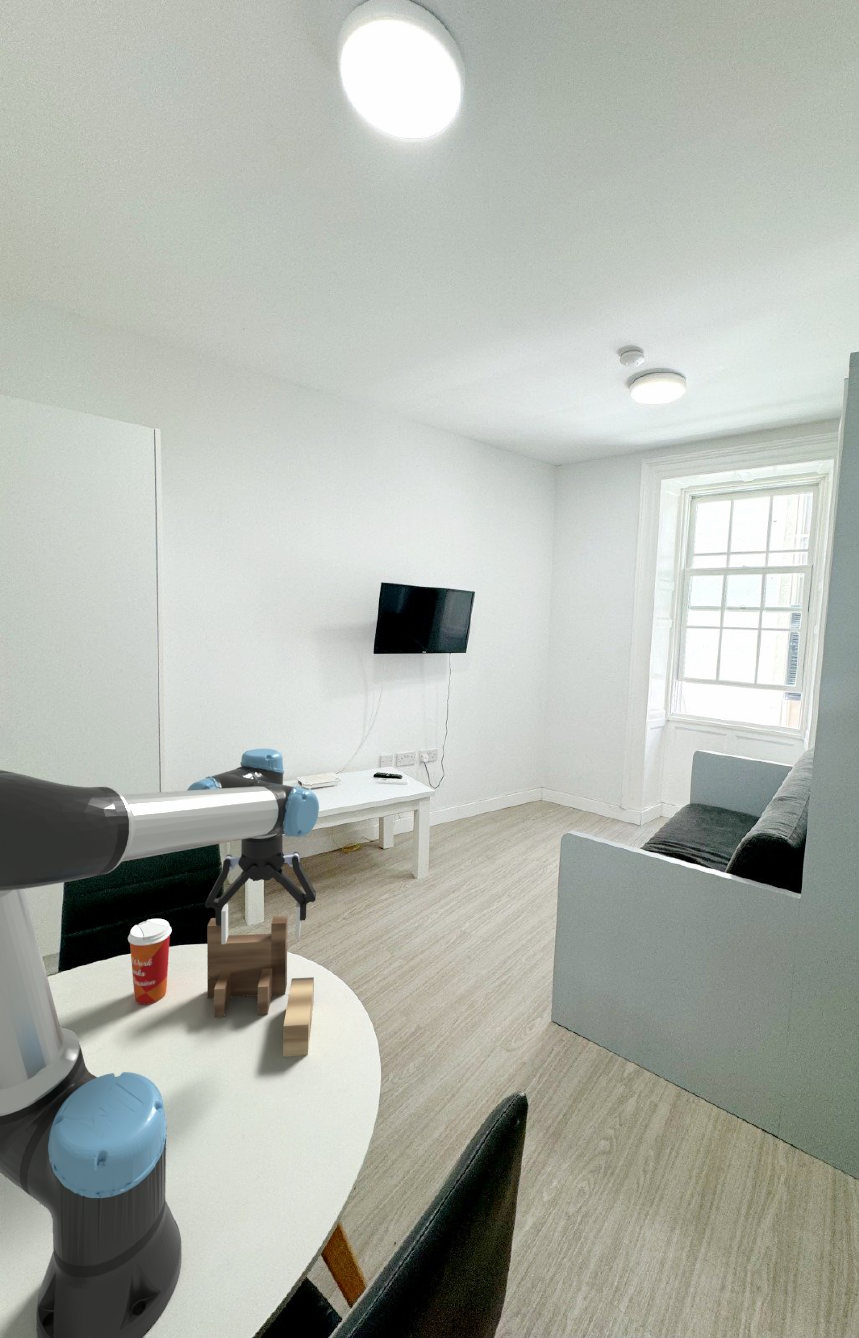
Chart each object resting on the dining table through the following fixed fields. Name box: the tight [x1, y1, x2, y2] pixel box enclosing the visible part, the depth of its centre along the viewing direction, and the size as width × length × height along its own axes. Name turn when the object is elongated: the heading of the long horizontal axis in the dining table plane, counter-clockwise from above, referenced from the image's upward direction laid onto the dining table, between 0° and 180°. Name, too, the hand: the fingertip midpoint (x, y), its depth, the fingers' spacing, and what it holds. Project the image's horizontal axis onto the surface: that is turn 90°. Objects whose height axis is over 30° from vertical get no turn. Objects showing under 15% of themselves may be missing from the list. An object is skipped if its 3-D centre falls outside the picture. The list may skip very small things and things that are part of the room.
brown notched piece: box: [206, 915, 288, 1018], centre depth 118 cm, size 9×16×16 cm, turn 98°
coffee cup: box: [127, 918, 173, 1005], centre depth 119 cm, size 8×8×15 cm
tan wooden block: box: [282, 976, 315, 1057], centre depth 111 cm, size 14×4×6 cm, turn 8°
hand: (261, 937), depth 109 cm, fingers open, 13 cm apart
